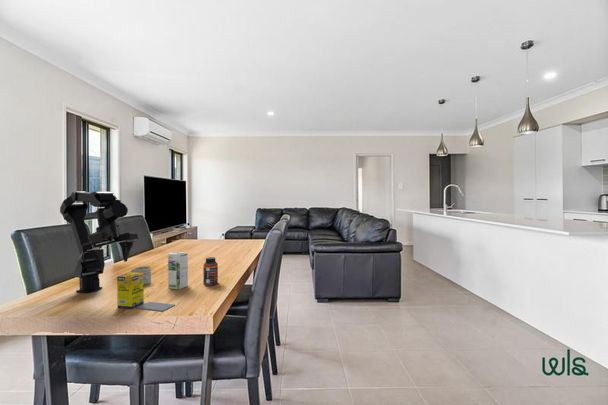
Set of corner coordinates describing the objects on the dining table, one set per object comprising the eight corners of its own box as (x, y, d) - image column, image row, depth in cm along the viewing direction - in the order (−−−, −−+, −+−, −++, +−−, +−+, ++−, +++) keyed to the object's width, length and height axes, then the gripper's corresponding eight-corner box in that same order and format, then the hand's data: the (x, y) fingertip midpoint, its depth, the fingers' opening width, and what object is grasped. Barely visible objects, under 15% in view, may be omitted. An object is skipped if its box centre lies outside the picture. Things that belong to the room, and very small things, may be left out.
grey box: (154, 281, 141) (154, 267, 140) (141, 285, 135) (140, 270, 134) (138, 279, 145) (138, 265, 145) (125, 283, 139) (124, 268, 138)
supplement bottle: (210, 286, 133) (209, 259, 132) (200, 284, 136) (200, 258, 135) (220, 283, 138) (220, 257, 137) (211, 281, 141) (211, 256, 141)
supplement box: (132, 309, 107) (131, 276, 107) (116, 308, 108) (116, 276, 108) (144, 303, 113) (143, 272, 112) (129, 302, 114) (129, 272, 114)
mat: (136, 308, 108) (136, 307, 108) (149, 302, 113) (149, 301, 113) (162, 311, 104) (162, 310, 104) (175, 305, 110) (175, 304, 110)
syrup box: (167, 288, 131) (166, 253, 130) (178, 284, 136) (177, 250, 136) (178, 289, 128) (177, 254, 128) (188, 285, 134) (188, 251, 134)
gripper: (66, 229, 112) (73, 272, 110) (116, 216, 112) (124, 260, 110) (90, 229, 123) (96, 269, 122) (135, 218, 123) (142, 257, 121)
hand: (114, 264), depth 118 cm, fingers open, 9 cm apart
